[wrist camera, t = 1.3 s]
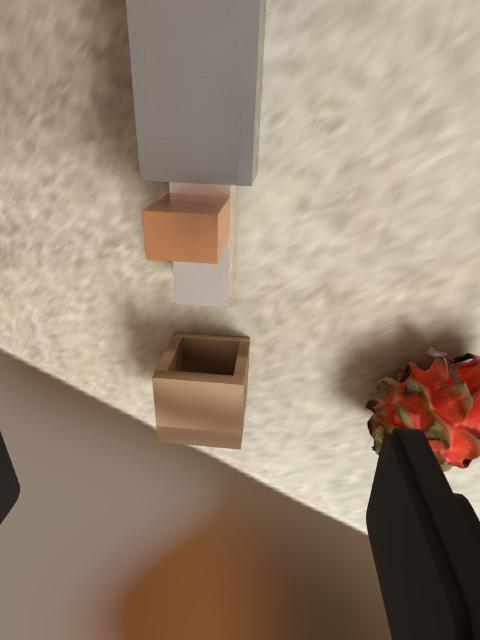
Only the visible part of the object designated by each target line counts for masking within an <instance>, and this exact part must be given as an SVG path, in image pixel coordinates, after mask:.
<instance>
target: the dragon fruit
mask: <svg viewBox="0 0 480 640" xmlns="http://www.w3.org/2000/svg"><path fill="white" fill-rule="evenodd" d="M424 353H425V354H428V355H430V356H433V357H436V358H435V360H434V362H433V364H432V365H431V367H430V368H429V369H428V370H426V371H423V370H421V369H419V368H418V366H417V365H416V364H415V363H414V362H409V363H405V364H403V367H402V368H401V369H400V370H399V372H398V374H397V375H398V379H397V381H396V380H394V379H392V378H382V379H380V380H379V381H378V382H377V383H376V384H377V389H378V390H379V391H380V383H381V382H385V383H386V384H387V387H388V390H389V396H388V398H374V399H372V400H370V401H368V402H367V405H366V408H368V409H370V410H372V411H373V413H374V414H375V415H372V416H371V418H370V419H369V420H368V422H367V425H368V429H369V432H370V435H371V436H372V437H373V438H374V447H371V448H373V450H374V451H375V452H376V454H378V455H379V454H380V449H381V445H382V440H383V437H384V435H385V434H391V433H392V430H393V429H394V428H410V429H421V430H422V431H423V432H424V434H425V436H426V438H427V440H428V442H429V444H430V446H431V448H432V450H433V452H434V454H435V456H436V458H437V461H438V463H439V465H440V467H441V469H442V471H443V472H445V471H449V470H450V469H451V467H452V466H457V467H459V468H463V469H464V468H467V467H468V466H469V464H470V463H471V461H472V460H473V459H476V458H478V457H479V456H480V357H479V356H476V355H473V354H470V353H466V354H465V355H463V356H460V355H459V356H455V357H451V358H450V359H448V360H447V358H446V357H445V356H447V355H448V354H447V353H446V352H443V351H438V350H437V348H435V347H431V348H429V349H427V350H426V351H425V352H424ZM471 358H472V359H473V360H471V361H470V362H468V363H465V364H461V365H459V366H455V364H454V363H457V362H461V361H464V360H467V359H471ZM453 359H454V360H455V361H453V362H451V361H450V360H453ZM448 361H450V362H451V363H453V364H451V365H450V366H449V367H448ZM409 369H411V375H410V376H409V377H408V378H407V379H406V380H405V381H404V382H403V380H404V377H405V373H406V371H407V370H409Z"/></svg>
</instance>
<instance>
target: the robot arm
mask: <svg viewBox="0 0 480 640" xmlns="http://www.w3.org/2000/svg"><path fill="white" fill-rule="evenodd" d="M19 493H20V485H19V482H18V479H17V477H16V474H15V471H14V468H13V465H12V462H11V460H10V457H9V454H8V452H7V449H6V446H5V443H4V440H3V437H2V435H1V432H0V524H1V523H2V521H3V520H4V518H5V517H6V516H7V514H8V513H9V511H10V510H11V508H12V507H13V506H14V504H15V503H16V501H17V499H18V497H19ZM366 524H367V531H368V535H369V539H370V544H371V548H372V553H373V557H374V561H375V566H376V570H377V575H378V579H379V584H380V588H381V593H382V597H383V601H384V606H385V610H386V615H387V619H388V624H389V628H390V632H391V637H392V640H480V521H479V519H478V517H477V515H476V513H475V511H474V509H473V508H472V506H471V504H470V503H469V501H468V499H467V498H466V497H464V496H463V495H462V494H458V493H453V492H452V490H451V487H450V485H449V483H448V481H447V479H446V477H445V475H444V473H443V471H442V469H441V467H440V465H439V463H438V461H437V458H436V456H435V454H434V452H433V450H432V448H431V446H430V444H429V442H428V440H427V438H426V436H425V434H424V432H423V431H422V430H421V429H410V428H394V429H393V430H392V433H391V434H385V435H384V437H383V440H382V445H381V449H380V454H379V458H378V463H377V467H376V472H375V476H374V481H373V485H372V490H371V494H370V499H369V503H368V507H367V512H366Z"/></svg>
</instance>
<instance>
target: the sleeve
mask: <svg viewBox="0 0 480 640" xmlns="http://www.w3.org/2000/svg"><path fill="white" fill-rule="evenodd" d="M126 10H127V23H128V36H129V48H130V61H131V74H132V86H133V99H134V111H135V124H136V137H137V149H138V162H139V174H140V181H157V182H177V183H198V184H218V185H239V186H252V184H253V182H254V180H255V177H256V175H257V167H258V148H259V128H260V109H261V89H262V70H263V50H264V31H265V12H266V0H126Z"/></svg>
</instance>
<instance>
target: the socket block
mask: <svg viewBox="0 0 480 640" xmlns="http://www.w3.org/2000/svg"><path fill="white" fill-rule="evenodd" d="M249 346H250V338H245V337H231V336H218V335H204V334H191V333H177V332H175V333H174V335H173V337H172V339H171V341H170V343H169V345H168V347H167V349H166V351H165V353H164V355H163V357H162V359H161V361H160V363H159V365H158V367H157V369H156V371H155V373H154V375H153V377H152V380H153V392H154V404H155V416H156V427H157V439H158V442H165V443H177V444H187V445H197V446H208V447H219V448H230V449H241V442H242V433H243V425H244V416H245V407H246V399H247V384H248V365H249Z"/></svg>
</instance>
